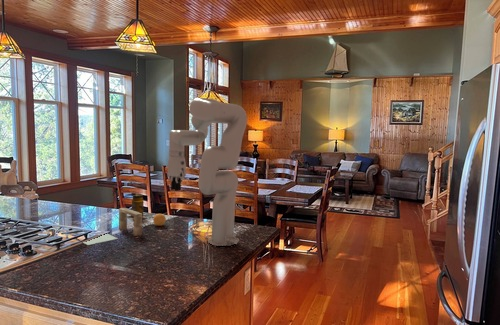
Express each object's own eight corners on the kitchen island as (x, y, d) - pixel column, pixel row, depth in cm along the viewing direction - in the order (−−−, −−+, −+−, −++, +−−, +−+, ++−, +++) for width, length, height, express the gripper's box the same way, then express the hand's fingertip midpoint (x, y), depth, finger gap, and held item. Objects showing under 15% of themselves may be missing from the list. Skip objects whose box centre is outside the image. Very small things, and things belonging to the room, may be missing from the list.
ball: (168, 225, 177) (168, 214, 177) (157, 227, 173) (157, 215, 172) (161, 223, 181) (161, 211, 181) (150, 225, 177) (151, 213, 176)
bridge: (124, 227, 171) (124, 207, 170) (141, 234, 161) (142, 213, 160) (118, 228, 169) (119, 208, 168) (135, 235, 159) (136, 214, 158)
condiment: (146, 217, 192) (146, 195, 191) (131, 219, 186) (131, 197, 185) (139, 214, 197) (140, 193, 196) (125, 216, 191) (125, 194, 190)
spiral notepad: (117, 238, 154) (117, 238, 154) (87, 245, 144) (87, 244, 144) (103, 232, 162) (103, 231, 162) (74, 237, 153) (74, 237, 153)
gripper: (192, 155, 178) (191, 191, 180) (173, 153, 189) (172, 187, 191) (180, 155, 173) (179, 193, 175) (161, 153, 184) (160, 188, 185)
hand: (175, 189), depth 183 cm, fingers closed
